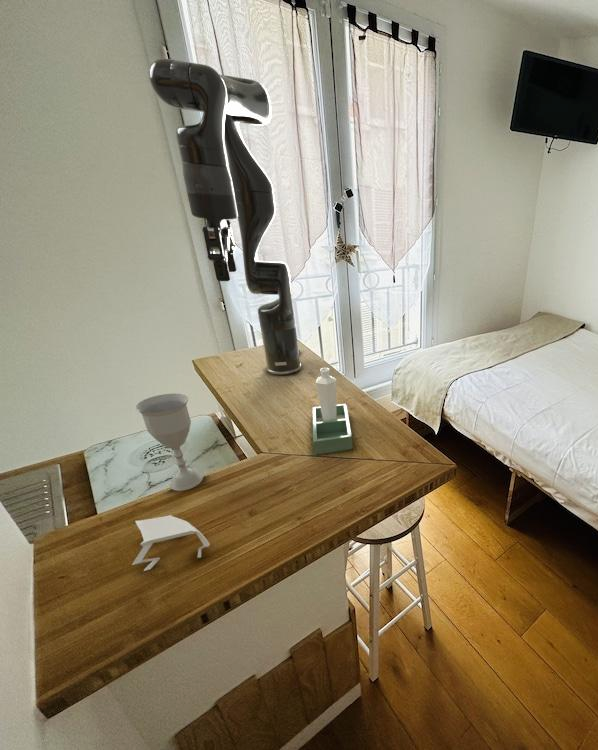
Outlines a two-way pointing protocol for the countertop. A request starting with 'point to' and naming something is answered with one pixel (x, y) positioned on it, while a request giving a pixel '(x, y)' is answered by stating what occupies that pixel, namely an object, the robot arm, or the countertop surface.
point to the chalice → (171, 432)
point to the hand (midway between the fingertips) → (227, 275)
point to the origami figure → (164, 535)
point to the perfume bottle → (327, 394)
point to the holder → (331, 431)
